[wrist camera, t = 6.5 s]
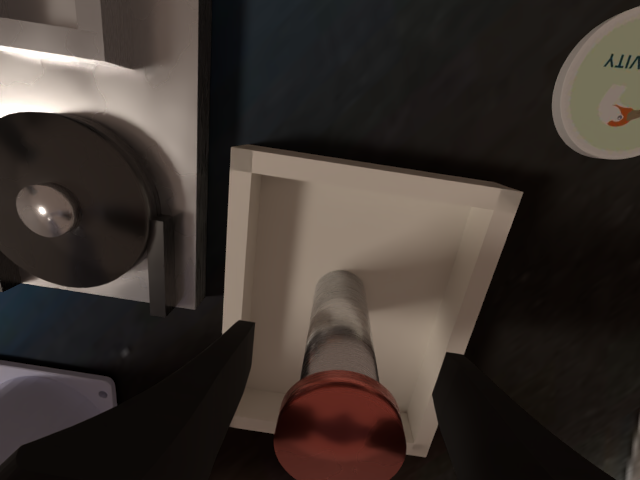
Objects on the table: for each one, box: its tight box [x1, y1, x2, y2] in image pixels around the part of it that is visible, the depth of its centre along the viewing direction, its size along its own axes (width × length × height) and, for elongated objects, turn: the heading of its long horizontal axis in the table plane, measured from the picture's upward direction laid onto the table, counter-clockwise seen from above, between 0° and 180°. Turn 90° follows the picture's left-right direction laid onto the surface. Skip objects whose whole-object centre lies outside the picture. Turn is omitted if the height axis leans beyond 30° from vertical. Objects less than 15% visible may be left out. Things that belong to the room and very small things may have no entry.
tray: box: [222, 144, 523, 457], centre depth 15 cm, size 14×11×2 cm
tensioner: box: [0, 0, 212, 317], centre depth 12 cm, size 16×10×3 cm, turn 172°
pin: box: [274, 270, 407, 480], centre depth 11 cm, size 3×3×8 cm
